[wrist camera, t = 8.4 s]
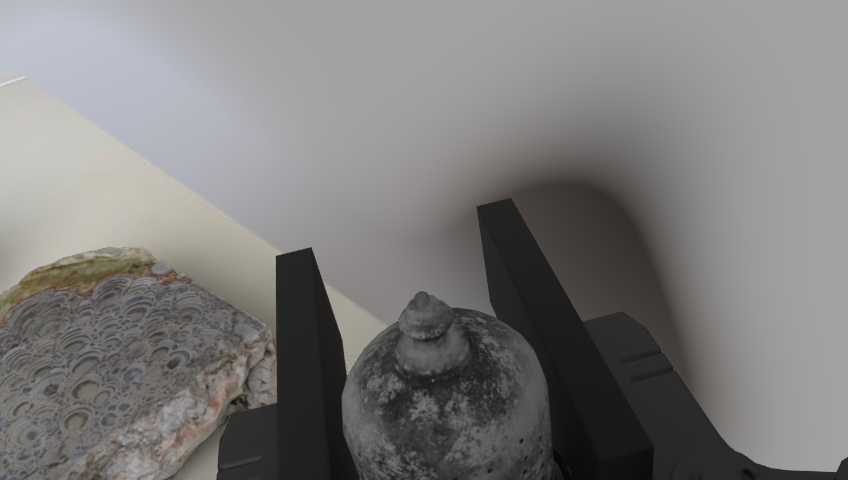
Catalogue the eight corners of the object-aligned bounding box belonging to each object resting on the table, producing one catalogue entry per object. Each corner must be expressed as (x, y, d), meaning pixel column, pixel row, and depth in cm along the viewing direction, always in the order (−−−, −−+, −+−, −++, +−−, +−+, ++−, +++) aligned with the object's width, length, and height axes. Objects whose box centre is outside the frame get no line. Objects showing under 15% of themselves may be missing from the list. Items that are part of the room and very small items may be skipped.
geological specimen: (8, 543, 20) (-130, 339, 29) (97, 624, 24) (-48, 422, 33) (276, 326, 26) (94, 209, 35) (313, 419, 30) (141, 293, 38)
